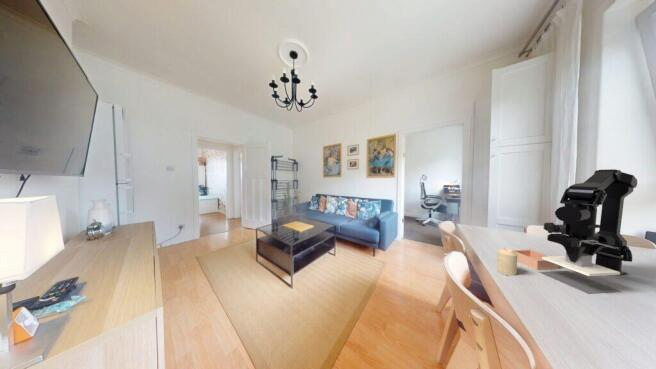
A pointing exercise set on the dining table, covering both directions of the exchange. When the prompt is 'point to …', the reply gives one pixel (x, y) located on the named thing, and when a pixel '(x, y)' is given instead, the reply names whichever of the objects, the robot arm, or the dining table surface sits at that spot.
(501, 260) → the candle
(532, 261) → the dish
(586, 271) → the lid
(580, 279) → the mat
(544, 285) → the dining table surface
